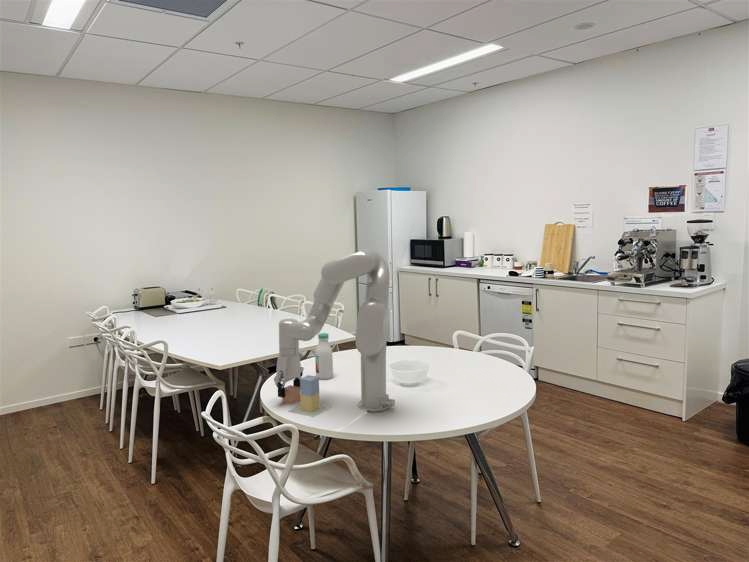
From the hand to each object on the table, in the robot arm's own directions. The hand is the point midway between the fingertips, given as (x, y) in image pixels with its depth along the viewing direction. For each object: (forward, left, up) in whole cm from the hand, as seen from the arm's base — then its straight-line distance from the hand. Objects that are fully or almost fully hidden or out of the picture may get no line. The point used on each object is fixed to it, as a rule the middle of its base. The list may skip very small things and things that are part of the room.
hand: (289, 393), depth 214 cm
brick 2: (-13, +4, +3) cm, 14 cm away
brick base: (-13, +4, -3) cm, 14 cm away
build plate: (-13, +4, -4) cm, 14 cm away
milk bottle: (+6, -33, -4) cm, 34 cm away
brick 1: (-1, 0, -4) cm, 4 cm away
